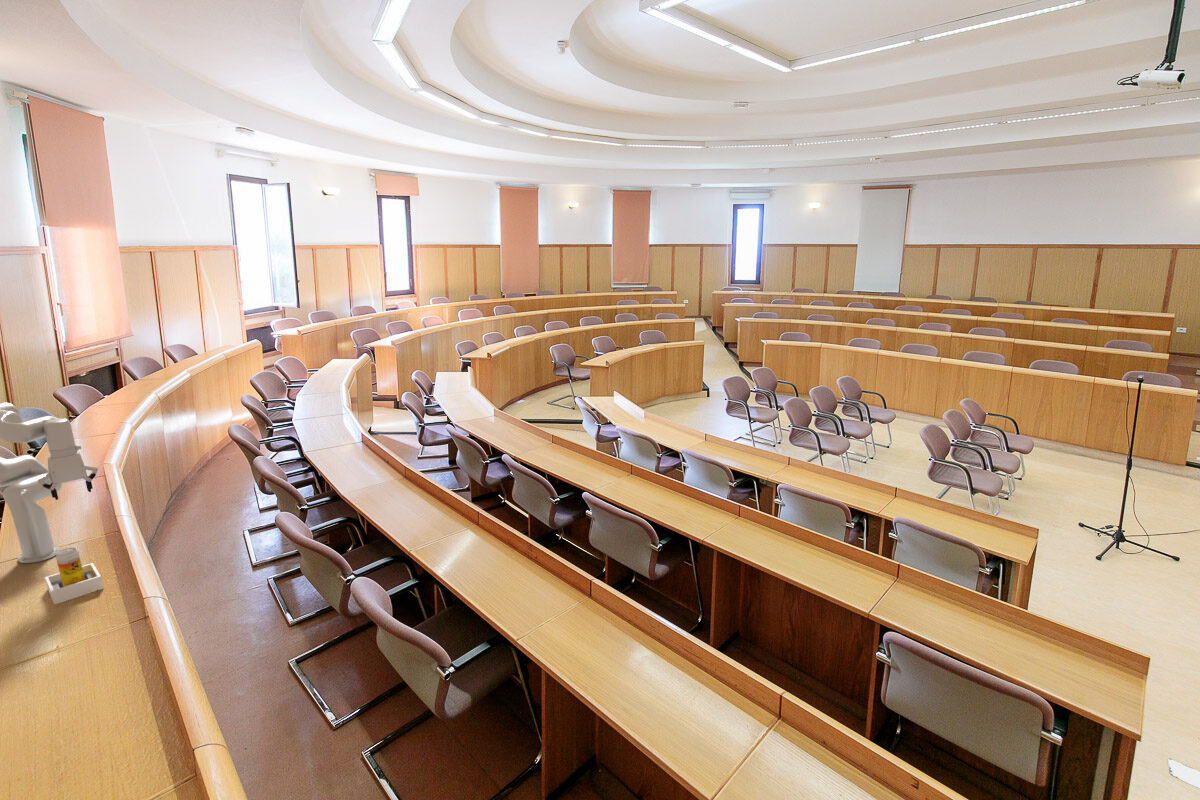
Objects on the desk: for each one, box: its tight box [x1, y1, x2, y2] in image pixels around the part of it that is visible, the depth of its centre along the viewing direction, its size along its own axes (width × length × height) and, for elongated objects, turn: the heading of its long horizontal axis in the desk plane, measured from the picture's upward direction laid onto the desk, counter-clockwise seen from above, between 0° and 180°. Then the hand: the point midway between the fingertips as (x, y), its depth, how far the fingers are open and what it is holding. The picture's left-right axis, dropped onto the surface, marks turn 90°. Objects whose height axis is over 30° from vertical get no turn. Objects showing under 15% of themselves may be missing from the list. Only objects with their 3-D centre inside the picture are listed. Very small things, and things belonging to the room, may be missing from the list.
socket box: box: [44, 562, 104, 605], centre depth 221 cm, size 14×14×5 cm
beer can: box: [55, 547, 85, 587], centre depth 220 cm, size 6×6×15 cm
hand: (73, 494), depth 233 cm, fingers open, 9 cm apart
